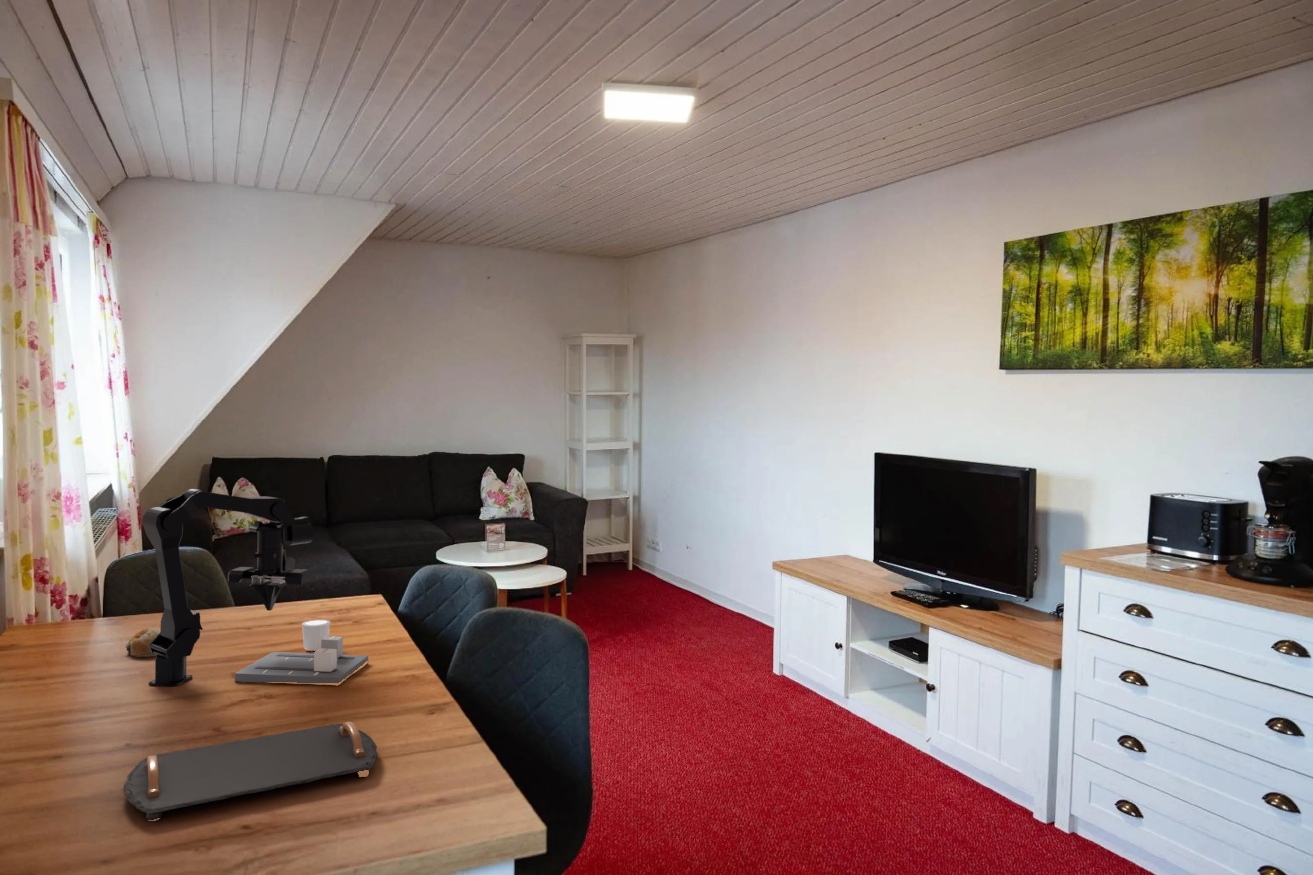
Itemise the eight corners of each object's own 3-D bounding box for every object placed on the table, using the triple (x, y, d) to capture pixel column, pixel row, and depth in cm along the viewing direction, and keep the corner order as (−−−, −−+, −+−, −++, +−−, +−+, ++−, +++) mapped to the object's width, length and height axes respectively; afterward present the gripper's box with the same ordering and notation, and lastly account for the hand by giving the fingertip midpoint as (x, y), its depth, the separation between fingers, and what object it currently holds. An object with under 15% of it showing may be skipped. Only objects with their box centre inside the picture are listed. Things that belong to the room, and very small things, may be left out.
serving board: (358, 733, 163) (359, 702, 163) (390, 779, 143) (391, 743, 143) (123, 776, 142) (123, 740, 142) (123, 836, 123) (123, 794, 122)
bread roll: (150, 673, 206) (164, 644, 205) (113, 654, 206) (127, 625, 205) (174, 661, 215) (187, 633, 215) (138, 643, 215) (152, 615, 215)
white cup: (334, 645, 220) (335, 619, 220) (321, 653, 213) (322, 626, 213) (310, 644, 221) (310, 618, 220) (296, 651, 214) (296, 624, 214)
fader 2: (330, 671, 192) (331, 651, 191) (313, 670, 192) (314, 651, 192) (336, 667, 195) (336, 648, 194) (319, 666, 195) (320, 647, 195)
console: (338, 686, 189) (338, 676, 188) (234, 681, 190) (234, 672, 190) (368, 663, 205) (368, 655, 205) (272, 659, 207) (272, 651, 207)
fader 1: (337, 658, 202) (337, 639, 202) (321, 657, 202) (321, 639, 202) (342, 654, 205) (342, 636, 205) (326, 654, 205) (326, 635, 205)
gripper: (322, 543, 214) (321, 604, 215) (251, 541, 216) (251, 601, 216) (300, 551, 203) (299, 614, 204) (226, 548, 205) (226, 611, 205)
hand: (269, 610), depth 207 cm, fingers closed
